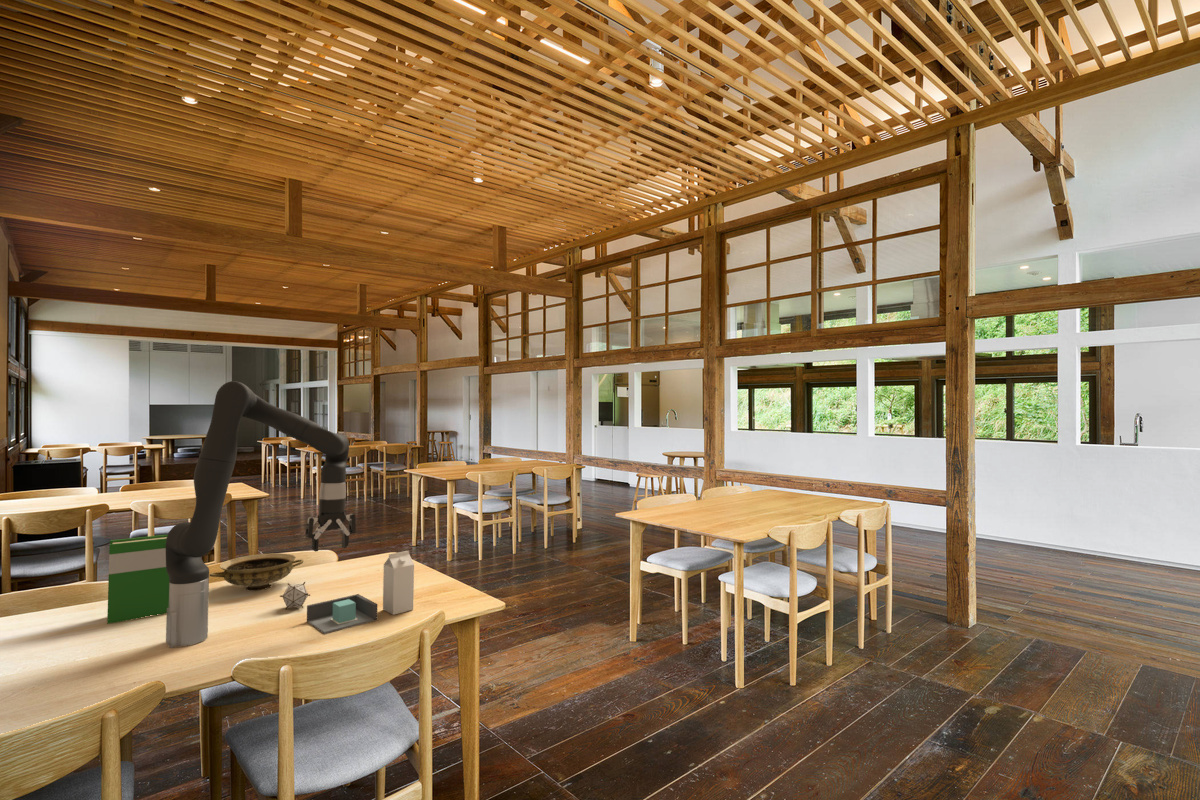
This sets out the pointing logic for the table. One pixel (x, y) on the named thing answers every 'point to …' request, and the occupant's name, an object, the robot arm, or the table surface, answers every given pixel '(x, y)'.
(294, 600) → the game die
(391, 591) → the milk carton
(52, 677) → the table surface
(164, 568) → the hardback book
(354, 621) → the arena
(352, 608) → the cube
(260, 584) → the ceramic bowl
